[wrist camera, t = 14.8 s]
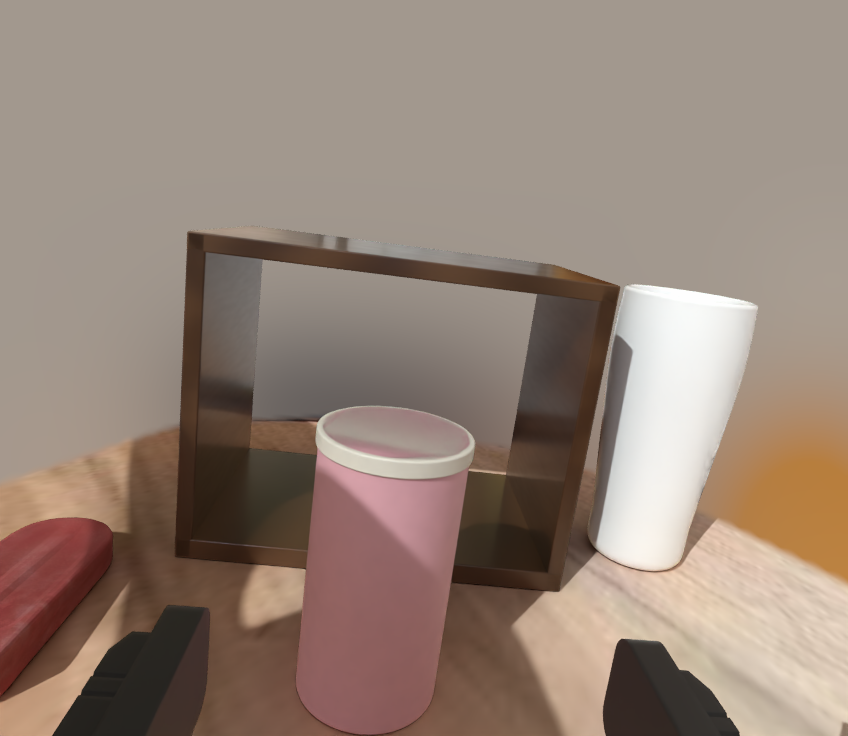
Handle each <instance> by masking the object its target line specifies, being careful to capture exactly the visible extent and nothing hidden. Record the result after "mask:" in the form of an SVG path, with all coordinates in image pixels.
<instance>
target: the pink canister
mask: <svg viewBox="0 0 848 736" xmlns="http://www.w3.org/2000/svg"><path fill="white" fill-rule="evenodd" d="M315 441H316V445H317V447H318V449H317V460H316V471H315V481H314V492H313V502H312V513H311V523H310V534H309V544H308V555H307V565H306V576H305V586H304V597H303V607H302V618H301V628H300V639H299V649H298V660H297V670H296V688H297V692H298V695H299V697H300V699H301V701H302V703H303V704H304V706H305V707H306V708H307V710H308V711H309V712H310V713H311V714H312V715H313V716H315V717H316V718H317V719H318V720H320V721H321V722H323V723H325V724H327V725H329V726H331V727H333V728H335V729H338V730H341V731H344V732H348V733H353V734H361V735H375V734H384V733H389V732H393V731H396V730H399V729H401V728H404V727H406V726H408V725H409V724H411V723H413V722H414V721H416V720H417V719H418V718H419V717H420V716H421V715H422V714H423V713H424V712H425V711H426V709H427V708H428V706H429V704H430V703H431V700H432V698H433V693H434V687H435V681H436V675H437V668H438V662H439V655H440V649H441V643H442V636H443V630H444V623H445V617H446V610H447V604H448V598H449V591H450V585H451V578H452V572H453V566H454V559H455V553H456V546H457V540H458V534H459V527H460V521H461V514H462V508H463V502H464V495H465V489H466V482H467V476H468V470H469V466H470V464H471V463H472V461H473V457H474V450H475V440H474V438H473V436H472V435H471V434H470V433H469V432H468V431H467V430H466V429H465V428H463V427H461V426H460V425H458V424H456V423H454V422H452V421H450V420H448V419H445V418H442V417H440V416H436V415H433V414H429V413H425V412H422V411H416V410H411V409H405V408H398V407H387V406H386V407H385V406H360V407H351V408H344V409H340V410H336V411H333V412H330V413H328V414H326V415H324V416H323V417H322V418H321V419H320V420H319V422H318V423H317V428H316V438H315Z"/></svg>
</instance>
